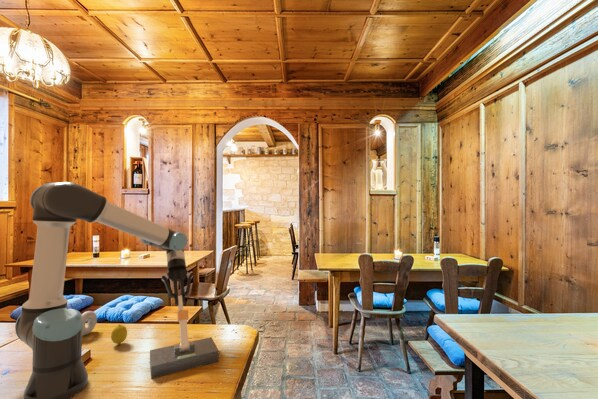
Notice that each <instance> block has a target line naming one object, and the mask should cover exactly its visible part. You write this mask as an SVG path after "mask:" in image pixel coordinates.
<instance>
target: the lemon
mask: <svg viewBox="0 0 598 399" xmlns="http://www.w3.org/2000/svg"><path fill="white" fill-rule="evenodd" d="M127 329H128V328H127V327H126V326H125V325H123V324H118V325H116V326H115V327H113V329H112V331H111V336H110V339H111V341H112V343H114V344H116V345H121V344H122V343H123V342H125V340H126V339H127V335H128V330H127Z"/></svg>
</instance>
